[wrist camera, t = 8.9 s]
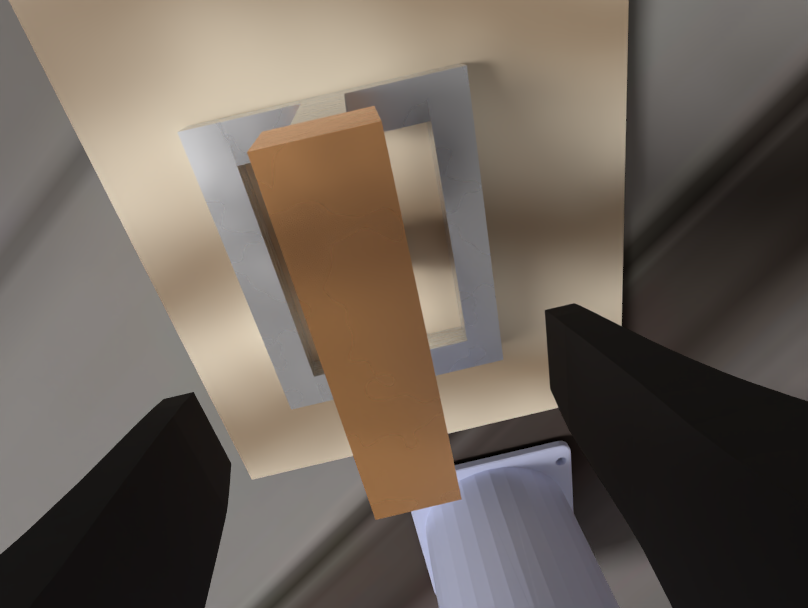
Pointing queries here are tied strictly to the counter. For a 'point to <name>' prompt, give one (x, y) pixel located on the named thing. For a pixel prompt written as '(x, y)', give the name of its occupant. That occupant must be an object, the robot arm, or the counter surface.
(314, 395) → the grey and tan frame
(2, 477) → the counter surface
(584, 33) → the board
